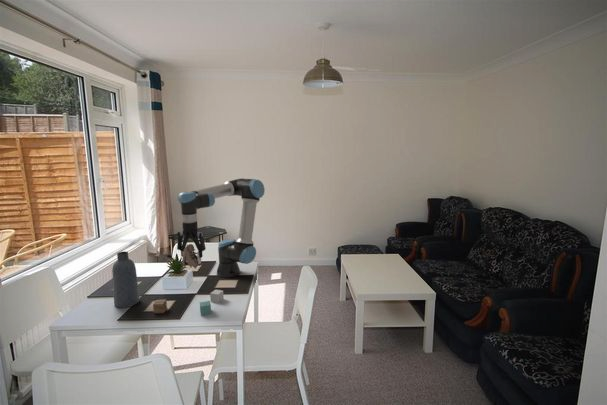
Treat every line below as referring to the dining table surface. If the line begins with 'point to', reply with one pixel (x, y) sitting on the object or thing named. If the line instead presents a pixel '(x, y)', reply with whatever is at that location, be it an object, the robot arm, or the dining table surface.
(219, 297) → the grey cube
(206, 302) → the teal cube
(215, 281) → the dining table surface
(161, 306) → the walnut cube
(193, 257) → the toy
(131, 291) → the vase
